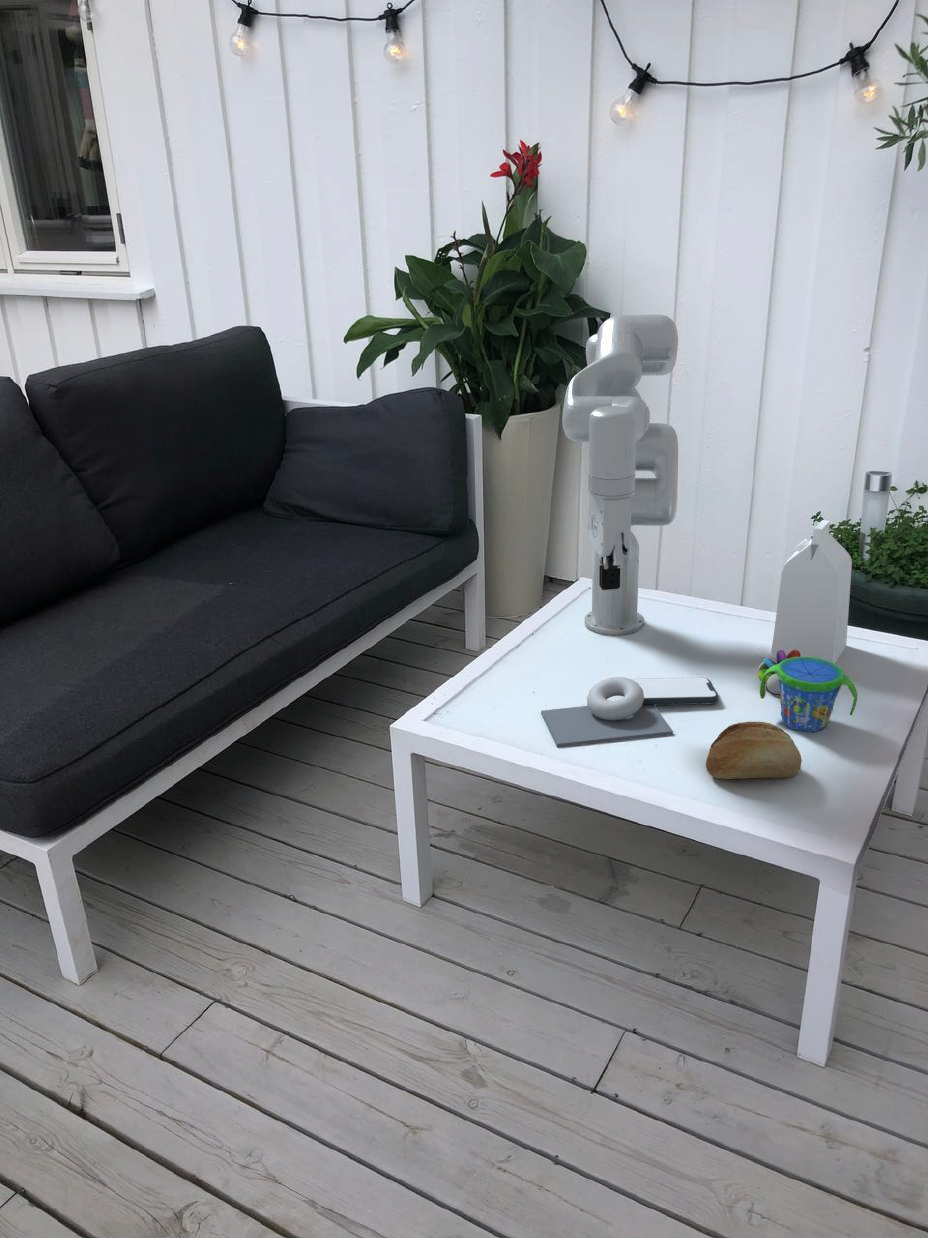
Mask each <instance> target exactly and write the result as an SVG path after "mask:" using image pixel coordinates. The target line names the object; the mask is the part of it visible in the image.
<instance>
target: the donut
mask: <svg viewBox="0 0 928 1238" xmlns="http://www.w3.org/2000/svg"><path fill="white" fill-rule="evenodd" d="M632 679H633V678H628V677H624V676H623V677H622V676H613V677H608V678H605V679H602V680H600V681H598V682H597V683H595V684H594V685H593V686H592V687H591V688H590V690H589V692H588V694H587V696H586V704H587V705H586V706H588V708H589V709H590V711H591V712H592V713H593V714H594V715H595V716H597V717H598V718H601V719H604V720H613V721H614V720H622V719H625V718H627V717H630V716H631V715H633V714H634V713H636V712H637V711H638V710H639V709H640V708H641V706H642V704H643V701H644V693H643V690H642V688H641V687H640V685H639V684H638V683H637V682H635V681H633V680H632ZM618 696H620V697H622V698H620V699H618V700H609V699H610V698H612V697H618Z"/></svg>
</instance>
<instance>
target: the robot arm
mask: <svg viewBox="0 0 928 1238" xmlns="http://www.w3.org/2000/svg"><path fill="white" fill-rule="evenodd" d="M678 347H679V333H678V329H677V326H676V324H675V322H674V321H673V319H672V318H671V317H669V316H667V315H664V314H635V315H634V314H629V315H628V314H623V315H616V316H615V315H614V316H612V317H610V318H607V319H606V320H605V321H604V322H603V323H602V324H601V325H600V326H599V328H598V331H597V333H595V334H593V335H591V336H590V337H588V339H587V341H586V346H585V356H586V357H585V358H586V365H587V366H585V367H584V368H583V369H581V370H580V371H579V372H578V373H577V374H575V375H574V376H573V377H572V378H571V380H570V382H569V383H568V386H567V388H566V391H565V396H564V401H563V409H562V416H561V417H562V418H561V419H562V428H563V429H562V430H563V432H564V435H565V436H566V437H567V439H568V440H570V441H573V442H576V443H588V479H587V481H588V482H587V483H588V484H587V485H588V490H587V491H588V493H587V494H589V495H588V506H589V508H588V522H587V523H588V524H587V525H588V526H587V540H588V542H589V543H590V545H591V547H592V568H591V569H592V575H591V576H592V577H591V578H592V581H591V582H592V583H591V586H592V587H591V611H590V612H589V613H587V614H585V615H584V625H585V627H587V629H589V630H590V631H593V632H596V633H599V634H604V635H610V636H611V635H612V636H614V635H616V636H620V635H629V634H633V633H636V632H638V631H640V630H642V628H644V626H645V617H644V616H643V615H642V614H641V613H639V612H638V604H639V603H638V601H639V600H638V599H639V598H638V597H639V596H638V594H639V569H640V568H639V567H640V563H639V562H640V544H639V541H638V539H637V537H636V535H635V534H634V533H633V532H632V527H633V526H643V527H644V526H647V527H648V526H649V527H651V526H652V527H653V526H654V527H655V526H656V527H657V526H659V527H660V526H661V527H663V526H668V525H670V524H671V523H673V522H674V520H675V517H676V515H677V509H678V508H677V507H678V483H679V481H678V479H679V477H678V476H679V440H678V439H679V438H678V434H677V431H676V430H675V428H674V427H673V426H672V425H670V424H667V423H662V422H661V423H658V422H657V423H656V422H655V423H653V422H652V423H651V422H650V421H651V420H650V419H651V417H650V416H651V414H650V408H649V406H648V405H647V403H646V401H644V400H643V399H642V397H641V394H640V393H639V391H638V390H637V388H636V387H637V385H639V383H640V382H641V378H642V377H643V376H646V377H647V376H648V377H649V376H656V377H657V376H659V377H660V376H666V375H668V374H670V373H672V371H673V370H674V368H675V366H676V363H677V357H678V355H677V354H678V349H679V348H678ZM636 472H651V473H653V474H654V476H655V477H636Z"/></svg>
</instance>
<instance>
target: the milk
mask: <svg viewBox="0 0 928 1238" xmlns="http://www.w3.org/2000/svg"><path fill="white" fill-rule="evenodd" d="M794 549H795V550H796V551H794V553H793V554H792V555H791V556H790V557H789V558H788V559H787V561H786V562H784V564H783V568H782V571H781V578H780V584H779V593H778V599H777V607H776V615H775V621H774V622H775V623H774V631H773V638H772V643H771V644H772V646H771V652H770V653H771V654H770V658H774V659H777V657H776V654H777V651H778V650H783V651H784V652H785V654H786V657H787V655H788V654H789V653H790V652H791V651H793V650H797V651H799V652H800V657H813V658H819V659H823V660H826V661H829V662H832V663H834V664H836V663H837V661H838V659H839V658H840V656H841V655H842V653H843V652H844V650H845V648H846V647H847V639H848V627H849V626H848V624H849V613H850V612H849V611H850V610H849V609H850V608H849V607H850V596H851V595H850V594H851V582H852V581H851V580H852V568H853V566H852V565H853V564H852V563H853V562H852V560H853V559H852V557H851V555H850V554H849V552H848V551H847V549H845V547H843V546H842V545H841V544H840V543H839V541H837V539H836V538H835V537H834V536H833V535H832V534H831V533H830V520H824V519H822V520H820V522H819V523H818V524H817V525H816V526H815V527H814V530H813V533H812V538H811V539H810V540H808V538H804V540H802V541H800V542H799V544H797V545H796V546H795V547H794Z"/></svg>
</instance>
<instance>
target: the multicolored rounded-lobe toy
mask: <svg viewBox="0 0 928 1238" xmlns="http://www.w3.org/2000/svg"><path fill="white" fill-rule="evenodd" d="M776 657H777V658H776V662H775V661H773V660H772V659H771V657H768V656H766V657H764V658H763V662H761V663H760V664H759V666H758V669H757V679H758V680H759V681H760V682H761V680H762V677H763V676H764V674H765V672H766V671H767V670H768V669H769V668H770V667H772V666H774V665H776V664H779V663H780V662H782V661H783V660H785V659H788V658H793V657H800V652H799V651H797V650H793V651H791V652H790V653H789V654H788V655H787V657H786V654H785V652H784V651H783V650H778V651H777V654H776ZM765 685H766V688H767V690H768V691H769V692H770V693H772V694H774V695H780V684H779V678H778V675H777V674H776V673H775V672H771V673H769V674H768V675H767V676H766V678H765Z"/></svg>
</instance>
